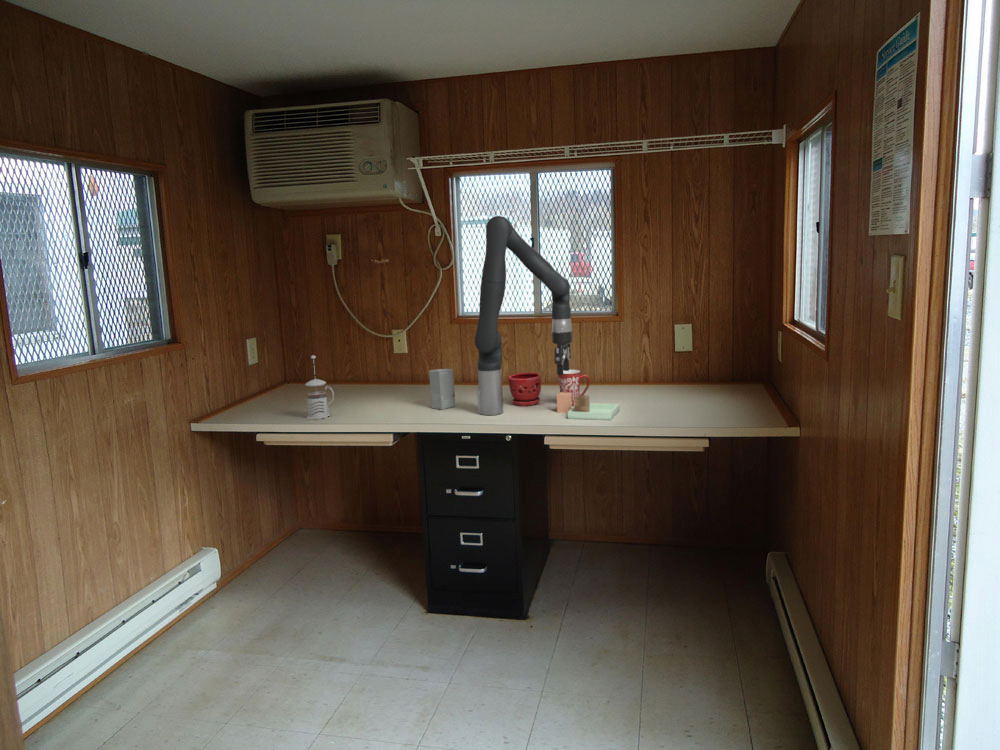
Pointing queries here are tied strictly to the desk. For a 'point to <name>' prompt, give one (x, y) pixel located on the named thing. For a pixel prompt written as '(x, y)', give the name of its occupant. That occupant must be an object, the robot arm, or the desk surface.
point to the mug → (572, 383)
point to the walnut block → (581, 403)
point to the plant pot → (525, 388)
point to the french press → (314, 399)
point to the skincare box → (442, 388)
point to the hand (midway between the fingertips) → (563, 372)
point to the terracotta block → (564, 402)
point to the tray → (595, 412)
